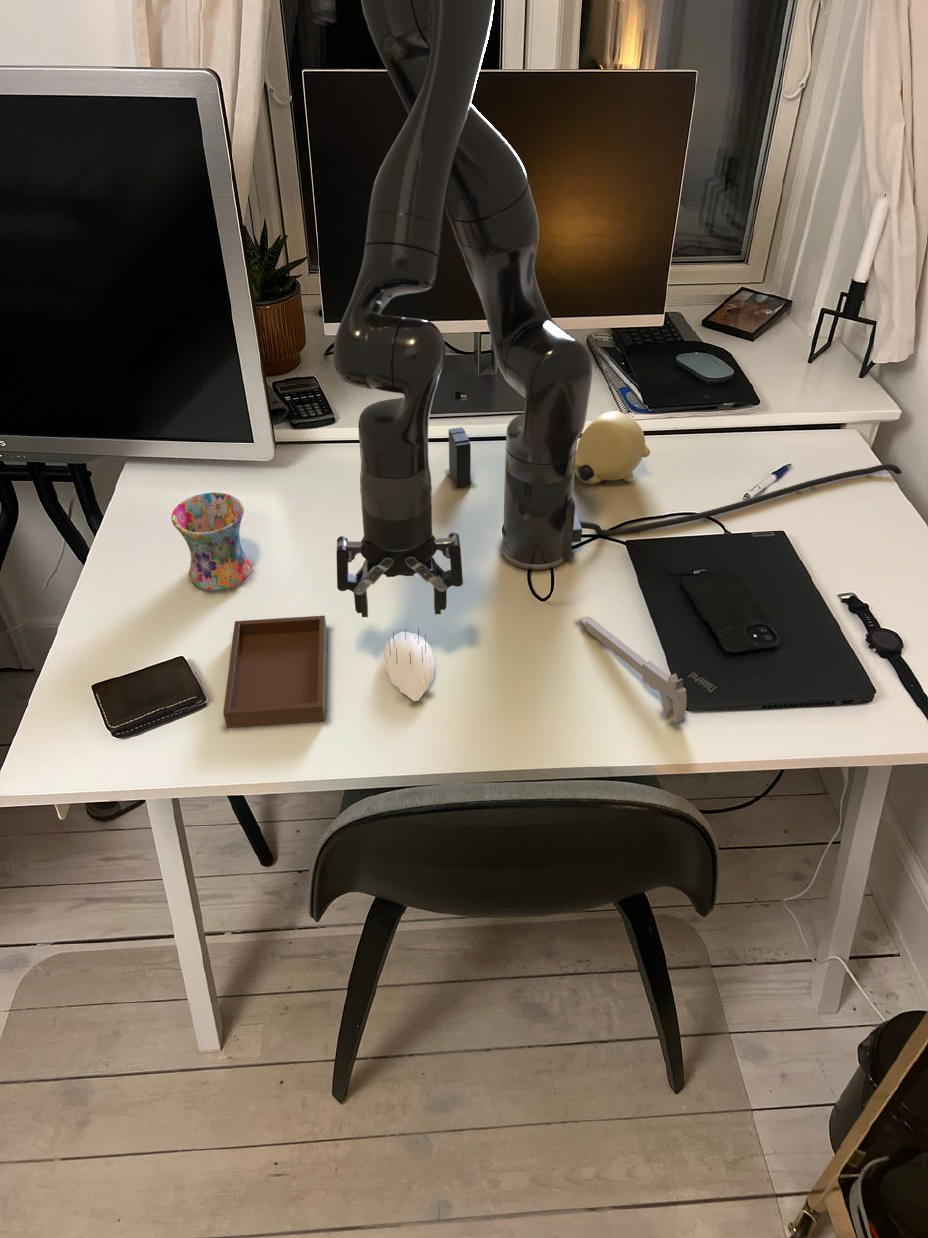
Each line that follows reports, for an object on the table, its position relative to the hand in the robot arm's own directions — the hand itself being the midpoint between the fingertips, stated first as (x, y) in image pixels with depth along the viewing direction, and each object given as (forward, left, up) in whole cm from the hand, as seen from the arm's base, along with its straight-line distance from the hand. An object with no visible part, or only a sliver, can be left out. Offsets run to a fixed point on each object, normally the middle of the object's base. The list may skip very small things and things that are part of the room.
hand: (401, 611), depth 113 cm
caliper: (-28, +3, -9) cm, 29 cm away
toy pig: (-34, -40, -9) cm, 53 cm away
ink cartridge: (-11, -41, -9) cm, 43 cm away
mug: (+24, -22, -9) cm, 34 cm away
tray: (+15, 0, -9) cm, 18 cm away
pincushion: (-1, 0, -9) cm, 9 cm away
